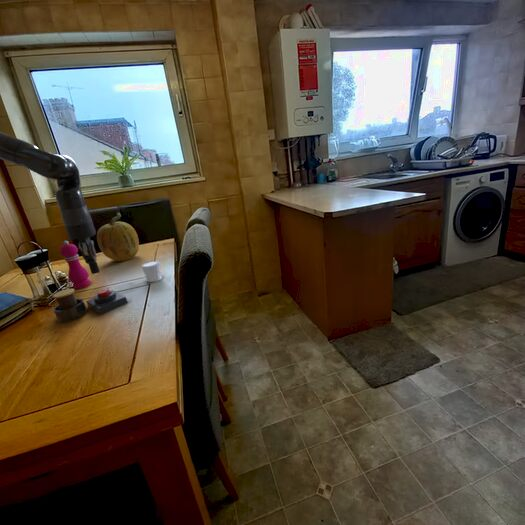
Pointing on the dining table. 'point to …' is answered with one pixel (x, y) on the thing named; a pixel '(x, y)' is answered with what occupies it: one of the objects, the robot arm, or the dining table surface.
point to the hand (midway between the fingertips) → (96, 272)
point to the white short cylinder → (152, 271)
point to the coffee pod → (66, 299)
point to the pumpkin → (118, 240)
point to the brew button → (103, 293)
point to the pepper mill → (74, 266)
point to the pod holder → (70, 312)
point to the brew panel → (106, 302)
